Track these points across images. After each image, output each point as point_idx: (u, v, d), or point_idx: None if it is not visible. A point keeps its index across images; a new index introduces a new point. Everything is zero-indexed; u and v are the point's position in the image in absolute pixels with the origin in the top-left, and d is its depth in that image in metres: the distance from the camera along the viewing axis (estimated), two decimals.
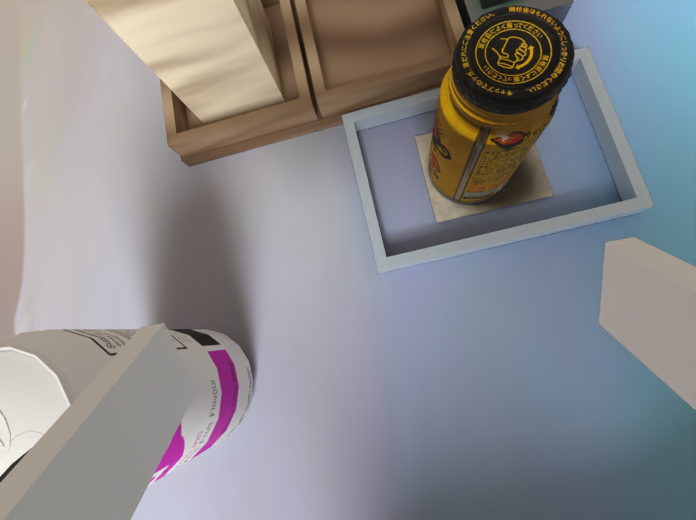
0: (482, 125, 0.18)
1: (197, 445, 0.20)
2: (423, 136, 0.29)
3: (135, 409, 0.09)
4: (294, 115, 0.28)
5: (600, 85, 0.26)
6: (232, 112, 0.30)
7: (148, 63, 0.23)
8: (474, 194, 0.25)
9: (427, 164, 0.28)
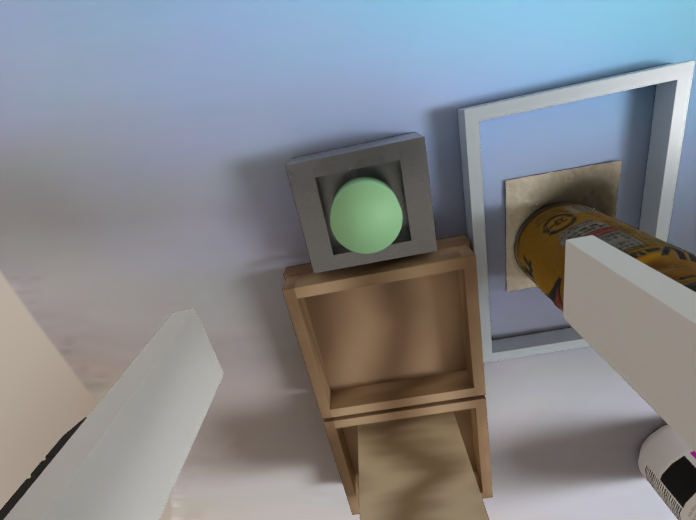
0: None
1: None
2: (509, 282, 0.27)
3: (173, 388, 0.10)
4: None
5: (522, 101, 0.21)
6: None
7: None
8: None
9: None
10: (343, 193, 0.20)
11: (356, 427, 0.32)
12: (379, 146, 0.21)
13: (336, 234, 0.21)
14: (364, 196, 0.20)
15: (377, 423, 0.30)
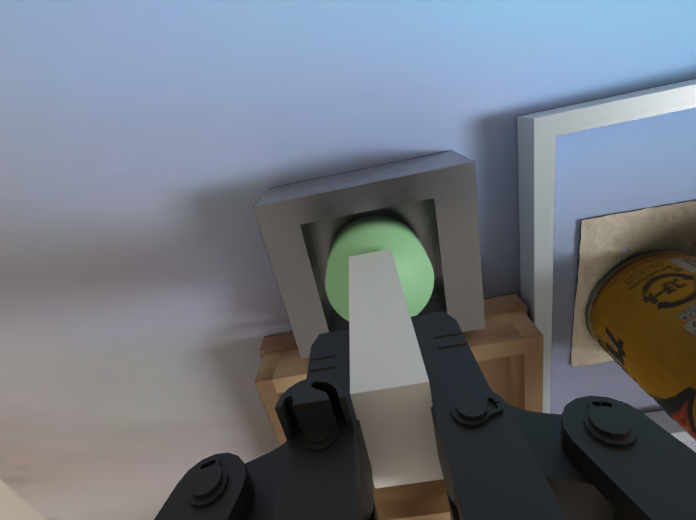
0: None
1: None
2: (575, 355, 0.20)
3: None
4: None
5: (626, 105, 0.13)
6: None
7: None
8: None
9: None
10: (345, 245, 0.13)
11: None
12: (402, 177, 0.13)
13: (335, 303, 0.14)
14: (377, 250, 0.13)
15: None
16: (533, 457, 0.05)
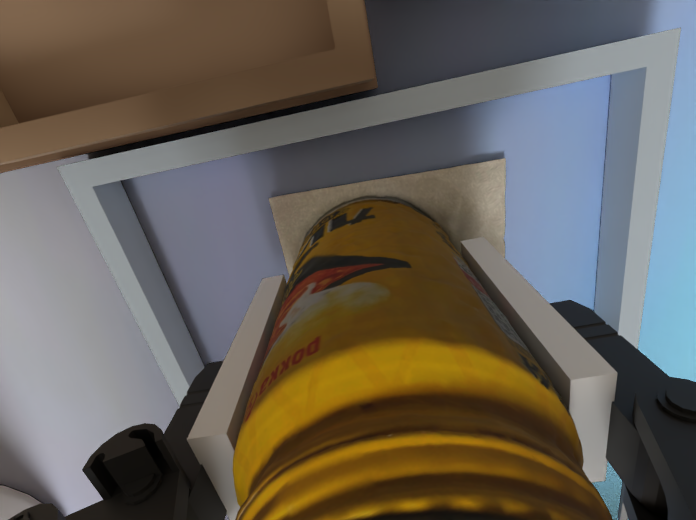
0: None
1: None
2: (288, 199, 0.13)
3: None
4: None
5: (656, 151, 0.11)
6: None
7: None
8: None
9: (296, 259, 0.14)
10: None
11: None
12: None
13: None
14: None
15: None
16: None
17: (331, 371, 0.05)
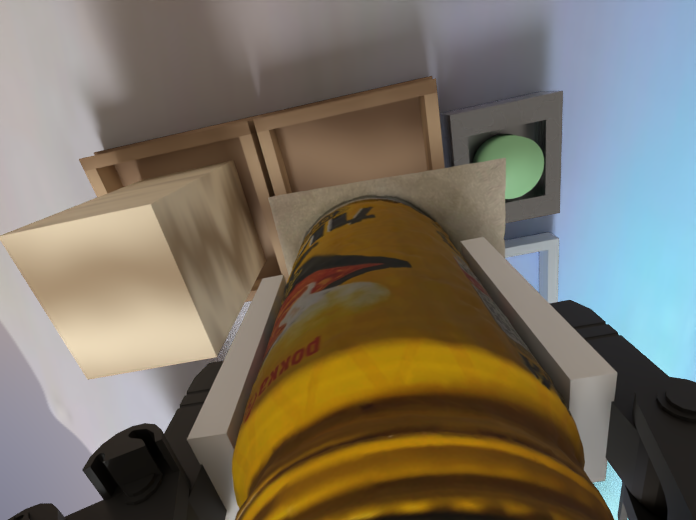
0: None
1: None
2: (288, 198, 0.13)
3: None
4: None
5: (555, 276, 0.30)
6: None
7: None
8: None
9: (296, 258, 0.14)
10: (539, 148, 0.23)
11: (219, 159, 0.26)
12: (559, 177, 0.25)
13: (504, 142, 0.23)
14: (533, 166, 0.24)
15: (237, 185, 0.26)
16: None
17: (330, 371, 0.05)
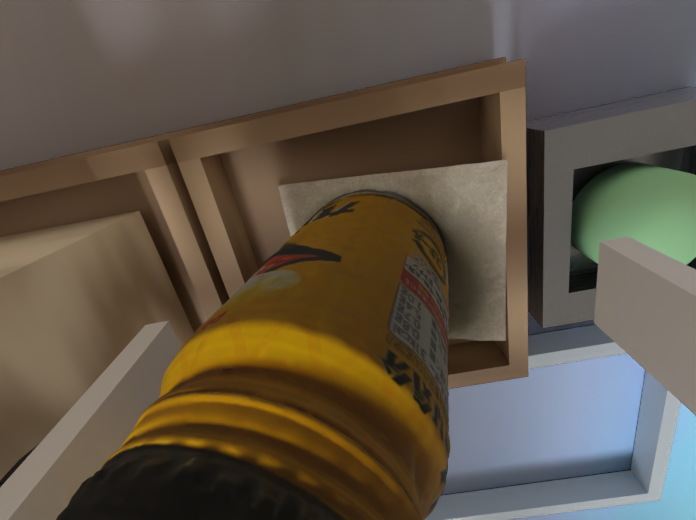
0: None
1: None
2: (295, 188, 0.15)
3: (141, 406, 0.09)
4: None
5: None
6: None
7: None
8: None
9: None
10: None
11: (126, 203, 0.15)
12: None
13: (649, 182, 0.12)
14: None
15: (145, 257, 0.14)
16: None
17: (214, 338, 0.06)
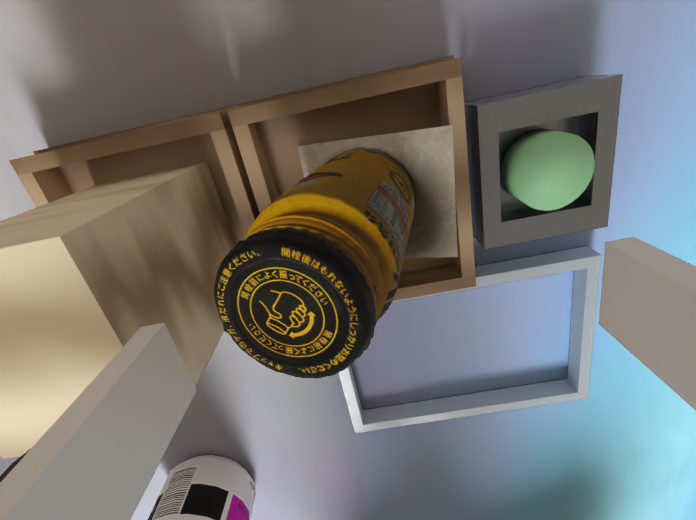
0: None
1: None
2: (309, 147, 0.21)
3: (135, 409, 0.09)
4: None
5: (593, 298, 0.25)
6: None
7: None
8: None
9: None
10: (589, 148, 0.19)
11: (189, 159, 0.21)
12: (610, 183, 0.20)
13: (545, 140, 0.18)
14: (581, 171, 0.19)
15: (212, 192, 0.21)
16: None
17: (278, 204, 0.13)
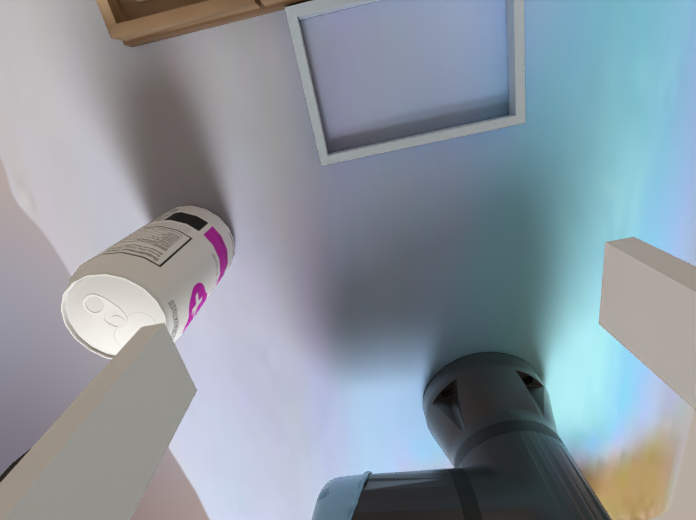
0: None
1: (211, 290, 0.33)
2: None
3: (135, 409, 0.09)
4: (237, 9, 0.28)
5: (520, 0, 0.29)
6: None
7: None
8: None
9: None
10: None
11: None
12: None
13: None
14: None
15: None
16: None
17: None
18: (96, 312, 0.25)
